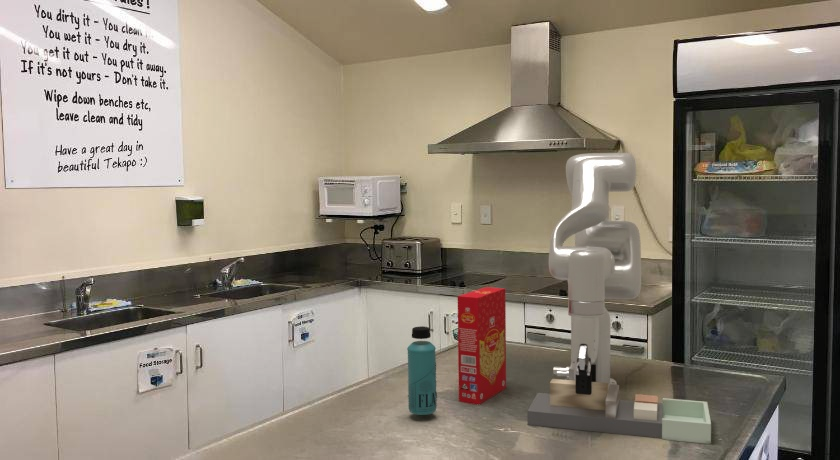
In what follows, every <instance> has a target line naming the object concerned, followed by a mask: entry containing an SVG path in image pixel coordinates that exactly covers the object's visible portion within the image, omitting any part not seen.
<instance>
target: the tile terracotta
mask: <svg viewBox="0 0 840 460" xmlns="http://www.w3.org/2000/svg"><path fill="white" fill-rule="evenodd" d="M634 401H635V402H639V403H651V404H657V403H658V401H659V400H658V395H653V394H652V395H649V394H640V393H639V394H637V393H635V397H634Z"/></svg>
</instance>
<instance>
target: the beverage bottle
mask: <svg viewBox="0 0 840 460" xmlns="http://www.w3.org/2000/svg"><path fill="white" fill-rule="evenodd" d="M431 336H432V334H431V328H430V327H428V326H423V325H422V326H414V327H413V328H412V330H411V338H413V339H416V341H412V343H410V344H409V345H408V347H407V348H406V349H407V350H406V351H407V376H408V377H407V379H408V381H407V388H408V389H407V390H408V391H407V393H408V394H407V403H408V405H407V406H408V411H409V413H410V414H413V415H419V416H424V415H426V416H427V415H431V414H434V413H435V412H436V411H437V405H438V403H437V402H438V393H437V388H438V387H437V386H438V384H437V373H436V372H437V359H436V357H437V356H436V346H435V345H434V344H433V343H432V342H431V341H428V340H427V339H429V338H431Z"/></svg>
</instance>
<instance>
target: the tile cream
mask: <svg viewBox="0 0 840 460" xmlns="http://www.w3.org/2000/svg"><path fill="white" fill-rule="evenodd" d="M634 419H644V420H655V421H657V404H651V403H639V402H635V403H634Z"/></svg>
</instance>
